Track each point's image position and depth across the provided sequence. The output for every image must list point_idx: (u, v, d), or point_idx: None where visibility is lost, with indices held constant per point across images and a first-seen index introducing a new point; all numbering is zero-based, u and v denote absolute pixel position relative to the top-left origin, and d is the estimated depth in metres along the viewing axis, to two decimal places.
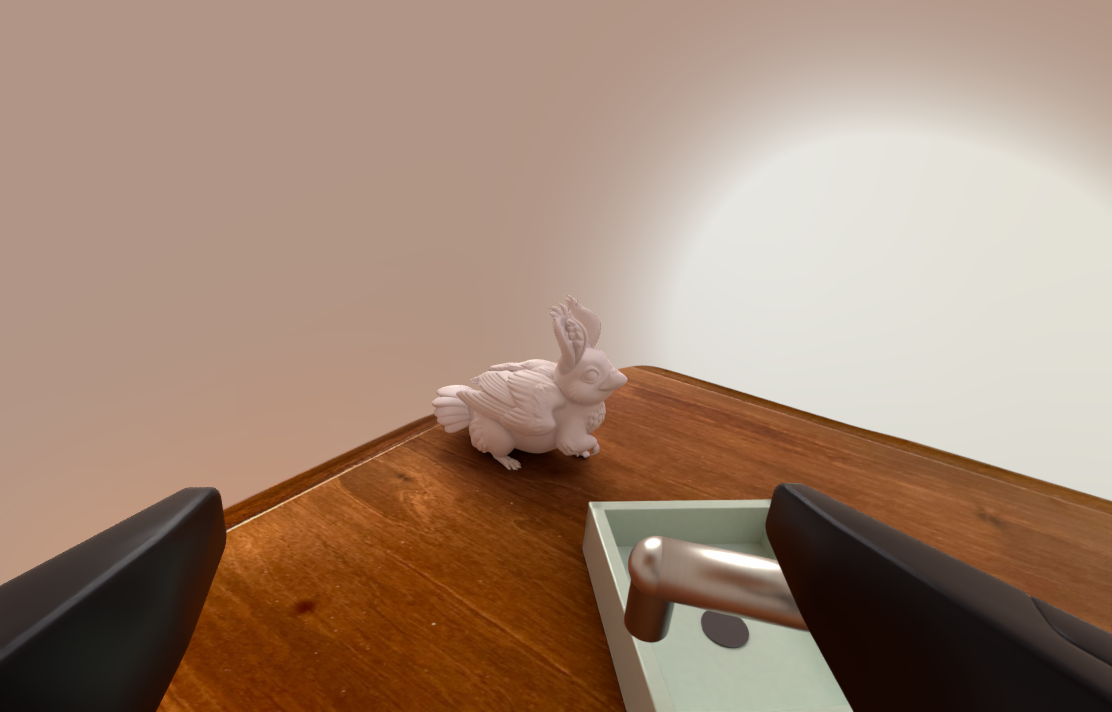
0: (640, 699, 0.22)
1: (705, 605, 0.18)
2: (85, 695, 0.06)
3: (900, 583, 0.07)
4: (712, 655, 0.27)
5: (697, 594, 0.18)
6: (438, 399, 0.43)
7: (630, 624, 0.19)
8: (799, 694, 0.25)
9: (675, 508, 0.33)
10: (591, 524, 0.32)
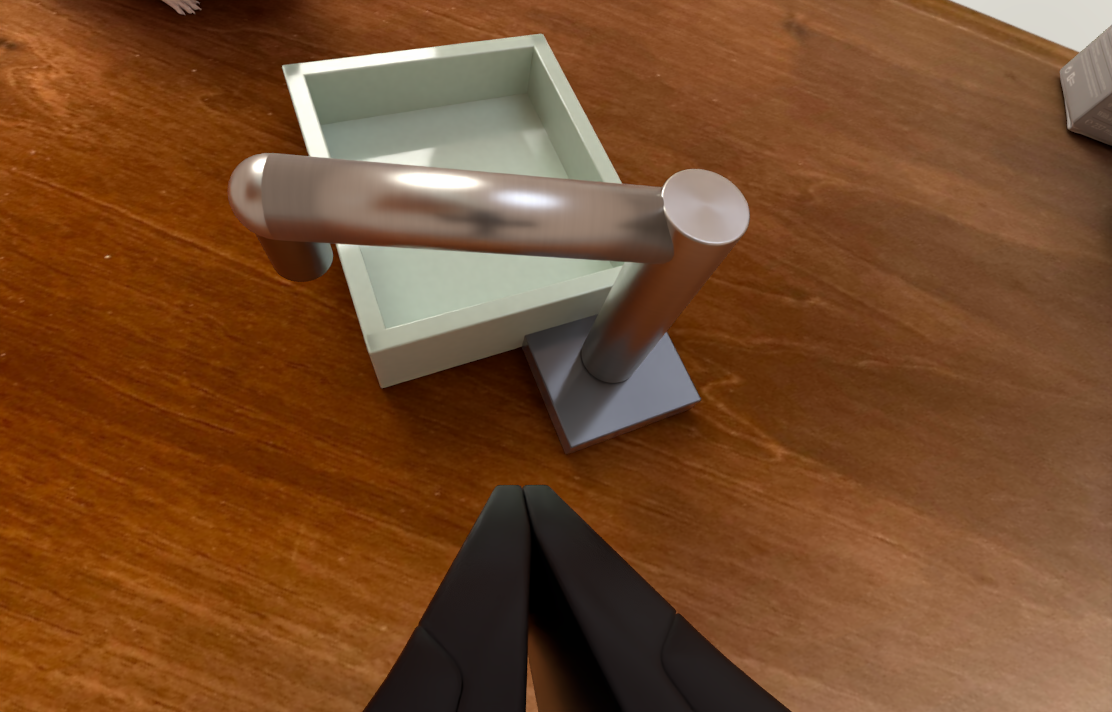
0: None
1: (344, 242, 0.13)
2: None
3: (559, 597, 0.06)
4: None
5: (325, 232, 0.13)
6: None
7: (274, 266, 0.15)
8: (538, 264, 0.25)
9: (407, 62, 0.25)
10: None
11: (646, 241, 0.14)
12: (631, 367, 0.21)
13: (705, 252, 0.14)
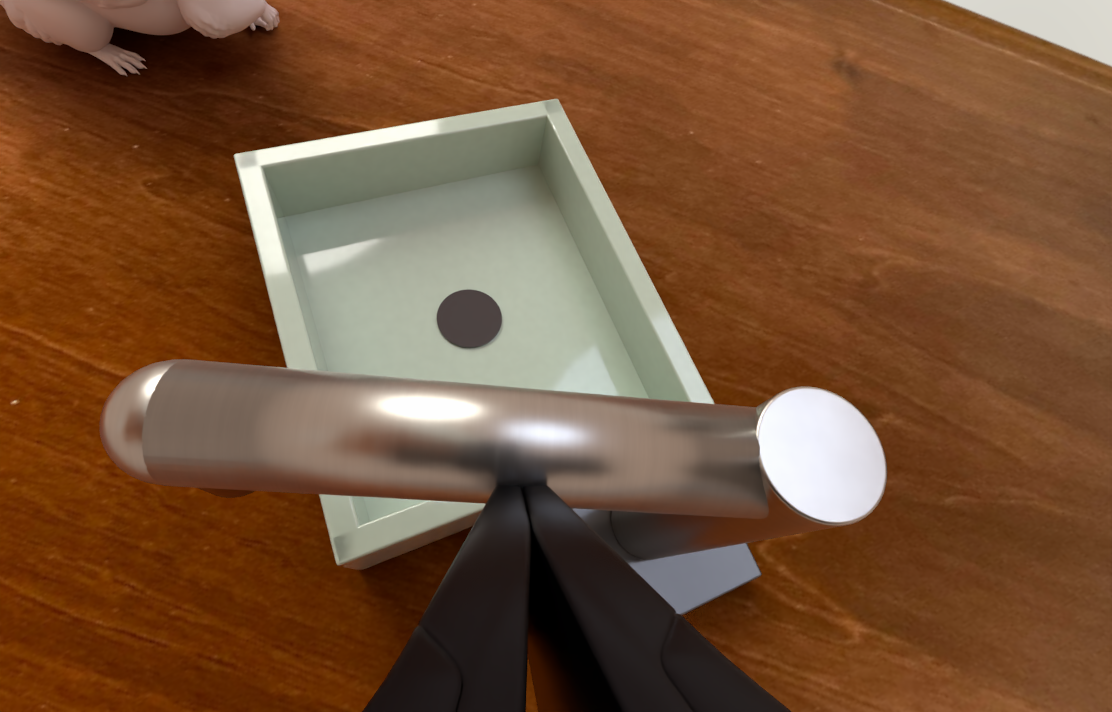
0: None
1: (277, 490, 0.09)
2: None
3: (559, 597, 0.06)
4: (448, 364, 0.20)
5: (245, 487, 0.08)
6: None
7: None
8: None
9: (391, 143, 0.20)
10: None
11: (729, 503, 0.09)
12: None
13: (817, 528, 0.09)
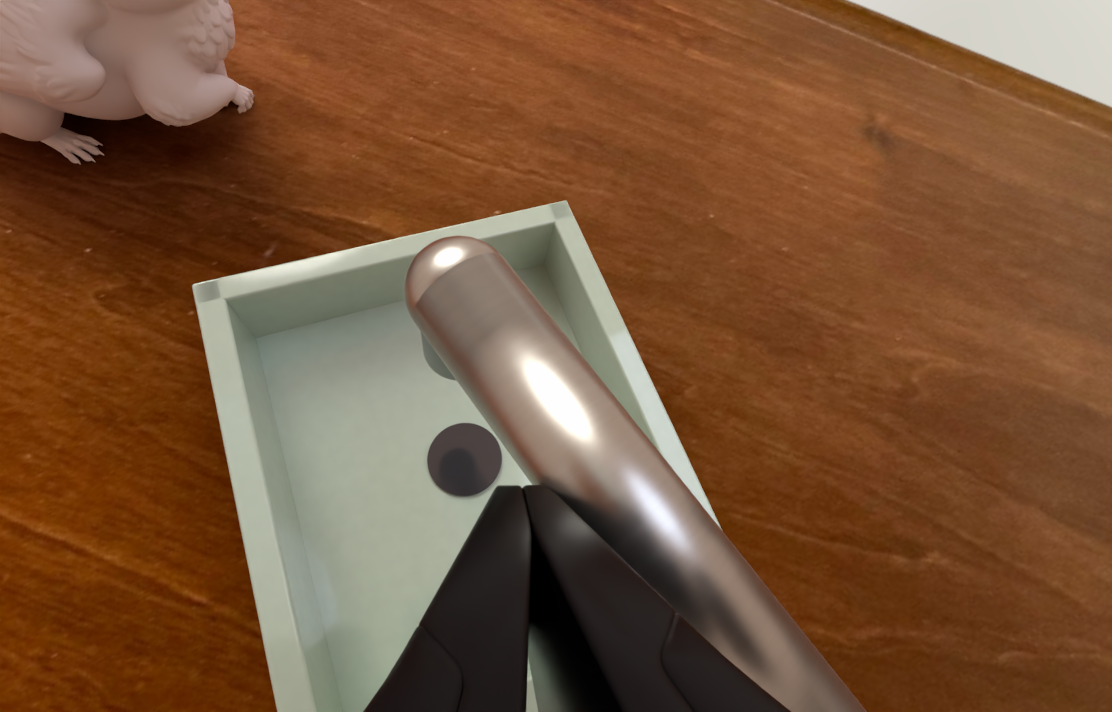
0: None
1: (466, 393, 0.10)
2: None
3: (559, 597, 0.06)
4: (440, 518, 0.17)
5: (453, 370, 0.09)
6: None
7: None
8: None
9: (376, 263, 0.17)
10: None
11: None
12: None
13: None
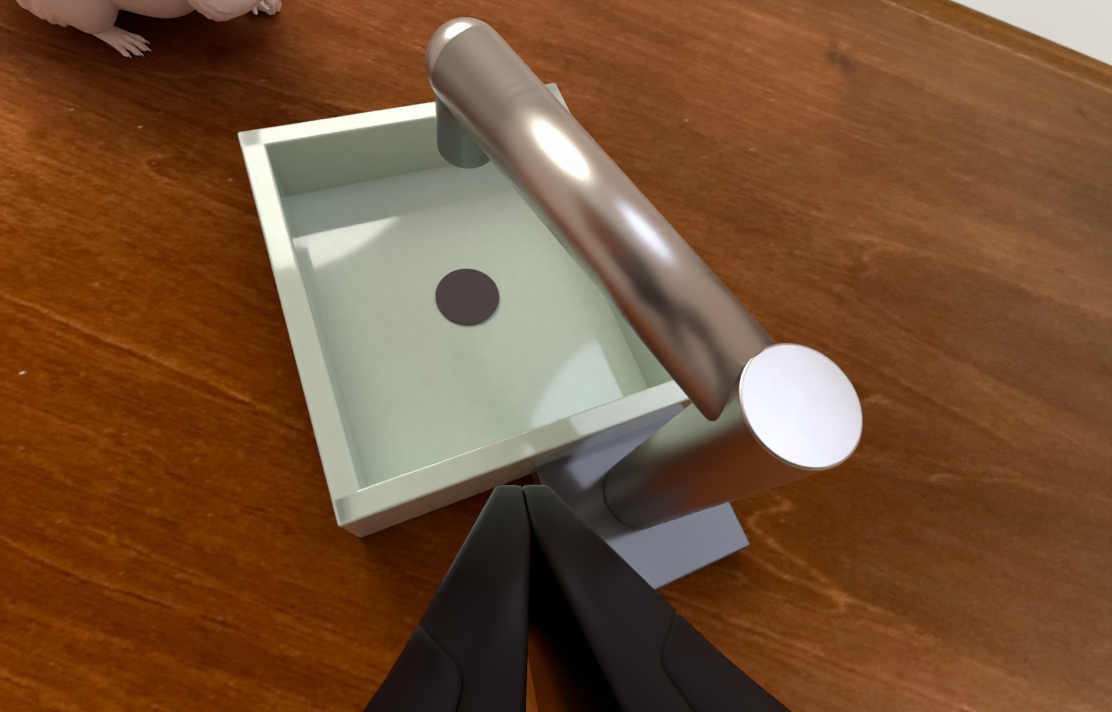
0: None
1: (472, 136, 0.13)
2: None
3: (559, 597, 0.06)
4: (446, 340, 0.20)
5: (463, 112, 0.12)
6: None
7: (437, 129, 0.15)
8: (550, 369, 0.20)
9: (392, 124, 0.20)
10: None
11: (701, 373, 0.10)
12: (634, 515, 0.17)
13: (746, 443, 0.10)
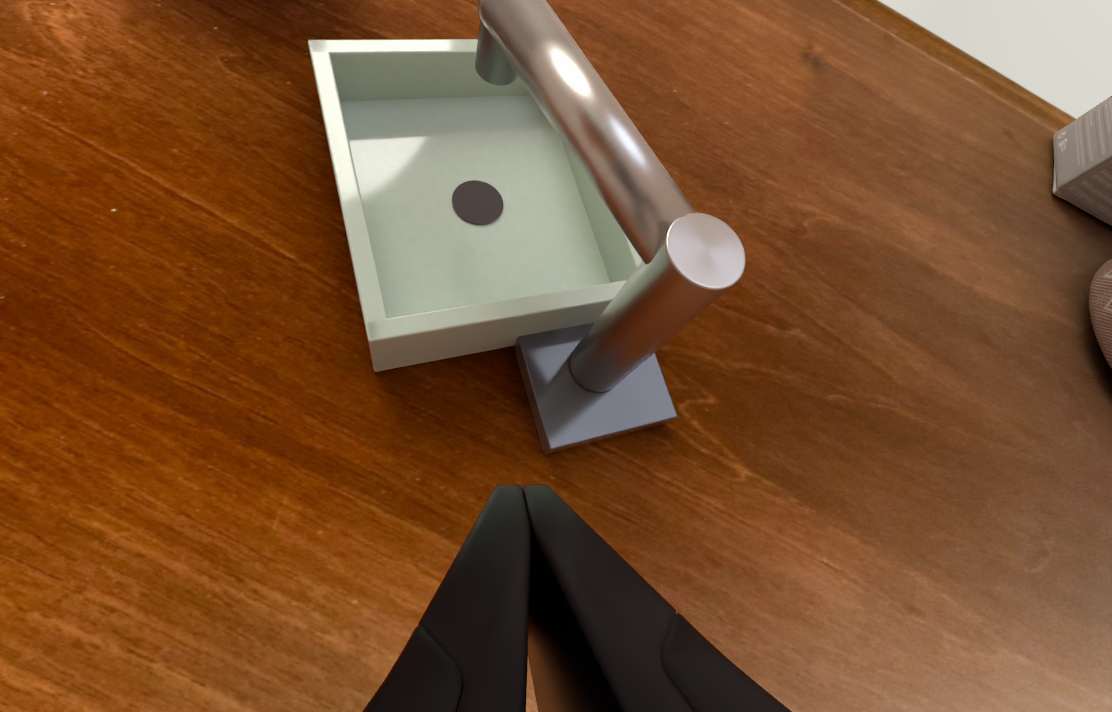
0: None
1: (505, 54, 0.17)
2: None
3: (559, 597, 0.06)
4: (457, 234, 0.25)
5: (501, 35, 0.17)
6: None
7: (476, 52, 0.20)
8: (538, 267, 0.25)
9: (432, 52, 0.25)
10: None
11: (645, 227, 0.15)
12: (590, 372, 0.22)
13: (666, 270, 0.15)
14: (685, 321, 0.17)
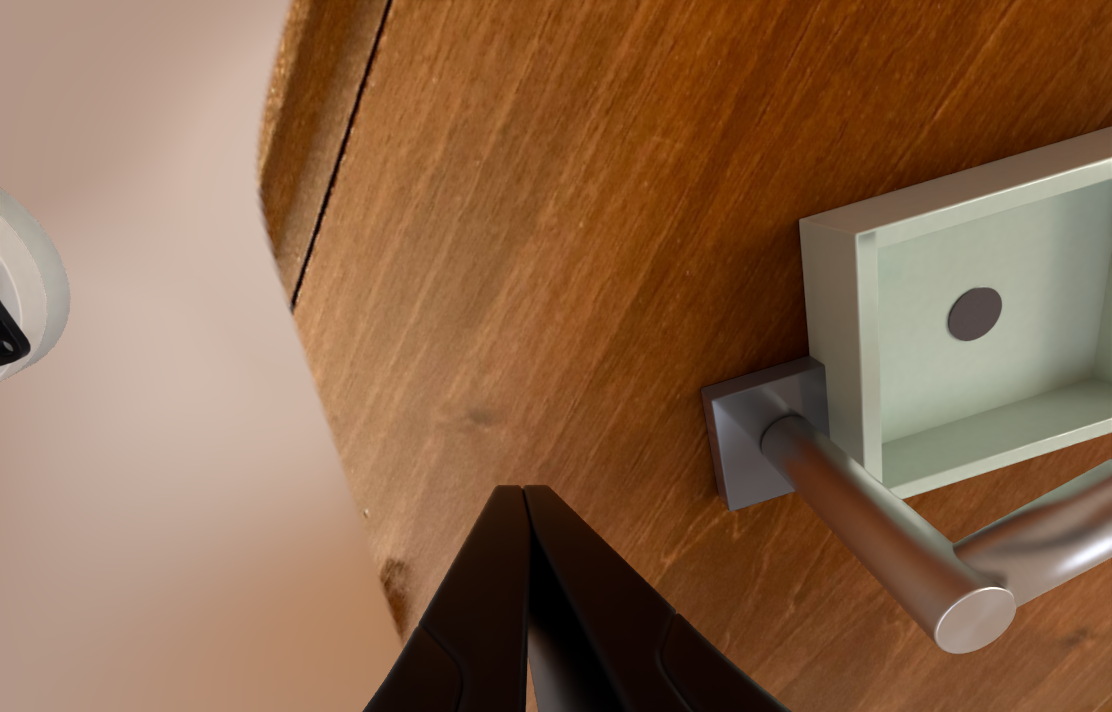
0: (899, 208, 0.20)
1: None
2: None
3: (559, 597, 0.06)
4: (941, 295, 0.23)
5: None
6: None
7: None
8: (892, 379, 0.24)
9: None
10: None
11: (1003, 561, 0.15)
12: (791, 444, 0.22)
13: (957, 583, 0.15)
14: (879, 576, 0.17)
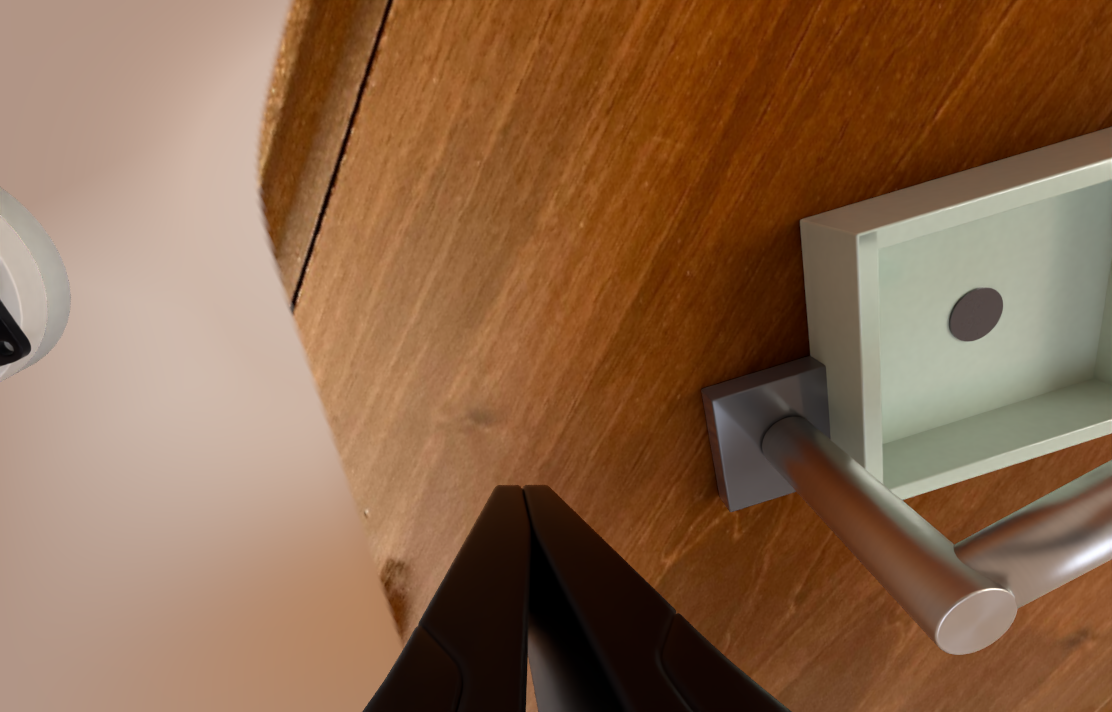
0: (900, 208, 0.20)
1: None
2: None
3: (559, 597, 0.06)
4: (942, 296, 0.23)
5: None
6: None
7: None
8: (893, 379, 0.24)
9: None
10: None
11: (1004, 562, 0.15)
12: (791, 445, 0.22)
13: (958, 584, 0.15)
14: (880, 576, 0.17)
